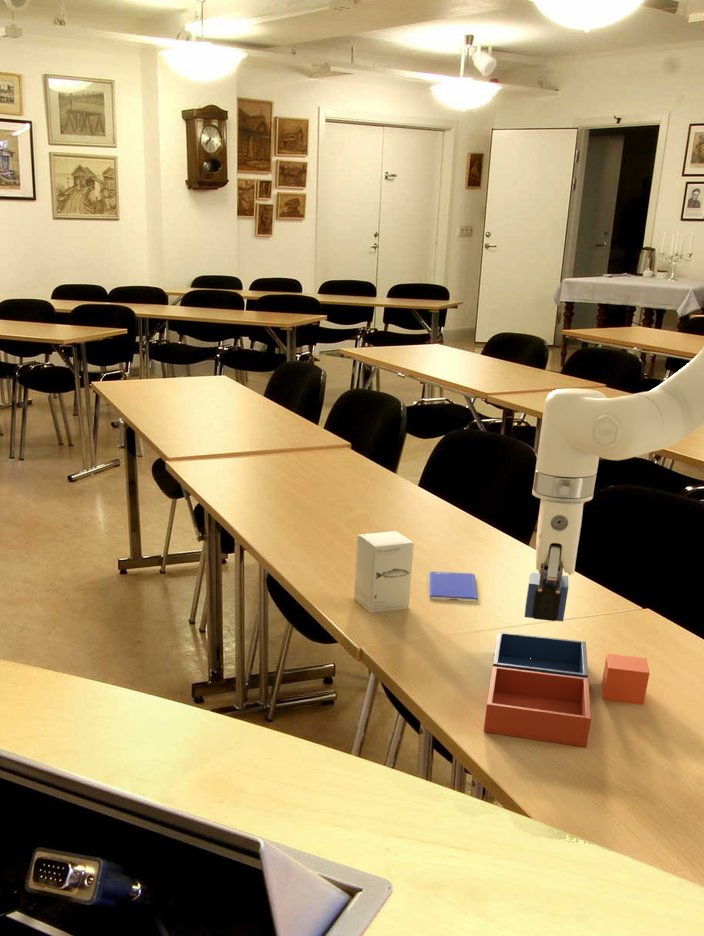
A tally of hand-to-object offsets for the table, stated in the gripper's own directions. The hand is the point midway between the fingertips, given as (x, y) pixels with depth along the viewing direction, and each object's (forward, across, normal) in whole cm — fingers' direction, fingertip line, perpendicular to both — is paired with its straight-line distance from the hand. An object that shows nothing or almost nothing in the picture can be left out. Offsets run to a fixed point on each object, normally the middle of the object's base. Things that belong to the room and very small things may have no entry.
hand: (544, 610), depth 128 cm
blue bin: (+10, 0, 0) cm, 10 cm away
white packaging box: (+11, +21, +26) cm, 35 cm away
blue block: (0, 0, 0) cm, 0 cm away
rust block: (+10, -3, -11) cm, 15 cm away
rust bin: (+10, -13, 0) cm, 17 cm away
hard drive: (+11, +32, +15) cm, 37 cm away
